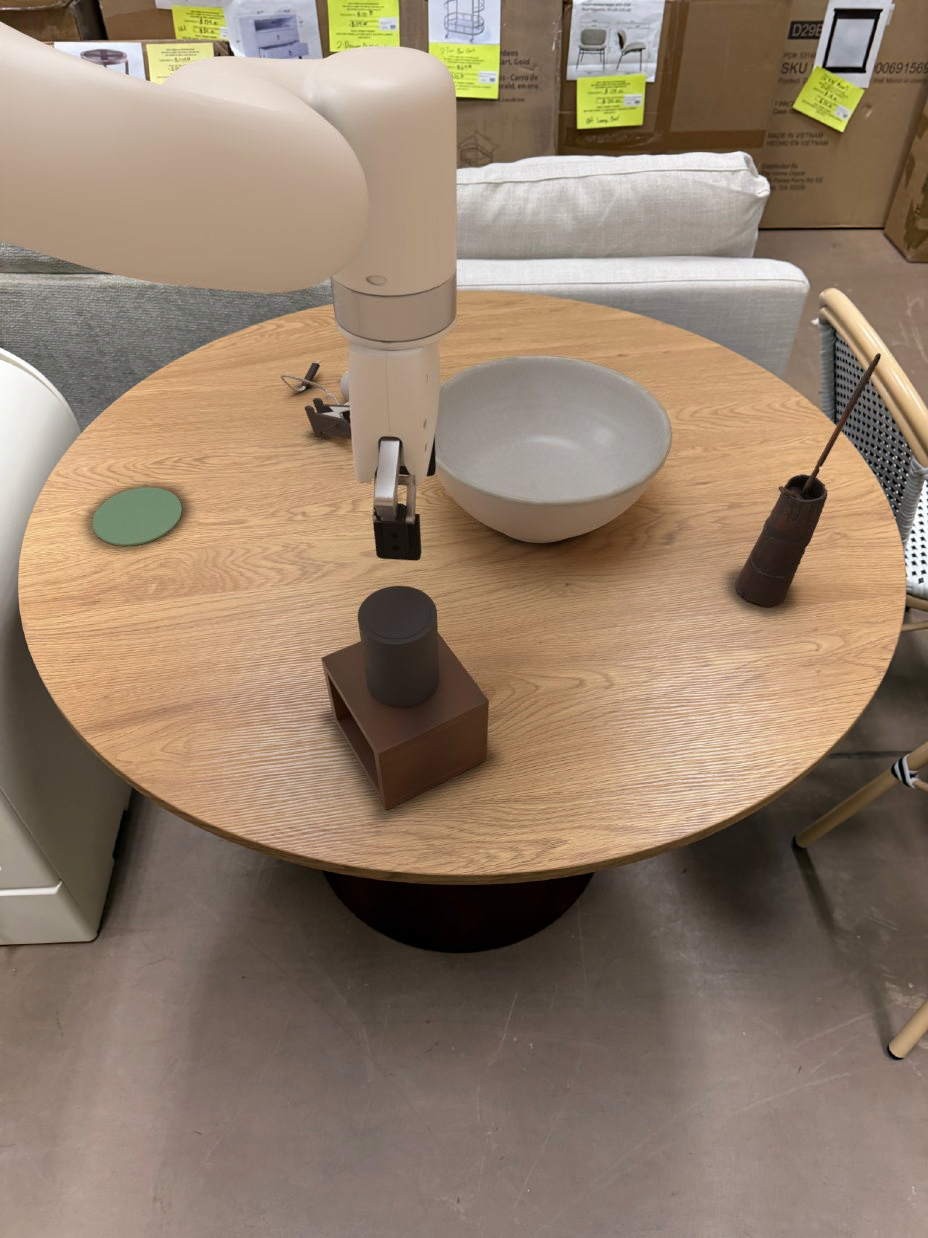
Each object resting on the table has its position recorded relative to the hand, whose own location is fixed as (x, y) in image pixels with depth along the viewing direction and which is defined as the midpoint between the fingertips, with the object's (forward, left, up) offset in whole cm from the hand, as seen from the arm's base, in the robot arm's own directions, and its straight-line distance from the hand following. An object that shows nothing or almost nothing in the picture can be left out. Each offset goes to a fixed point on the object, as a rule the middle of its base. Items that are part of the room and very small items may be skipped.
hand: (407, 512), depth 62 cm
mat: (-17, +38, -22) cm, 47 cm away
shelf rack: (-4, -5, -22) cm, 22 cm away
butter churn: (+36, -7, -22) cm, 43 cm away
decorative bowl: (+24, +16, -22) cm, 36 cm away
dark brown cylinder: (-4, -5, -13) cm, 14 cm away
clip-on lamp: (+12, +46, -22) cm, 52 cm away
